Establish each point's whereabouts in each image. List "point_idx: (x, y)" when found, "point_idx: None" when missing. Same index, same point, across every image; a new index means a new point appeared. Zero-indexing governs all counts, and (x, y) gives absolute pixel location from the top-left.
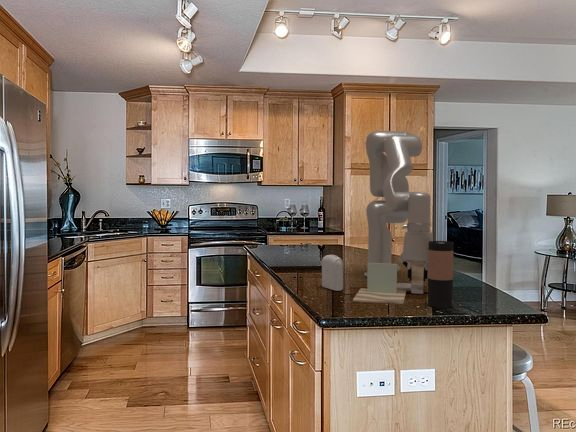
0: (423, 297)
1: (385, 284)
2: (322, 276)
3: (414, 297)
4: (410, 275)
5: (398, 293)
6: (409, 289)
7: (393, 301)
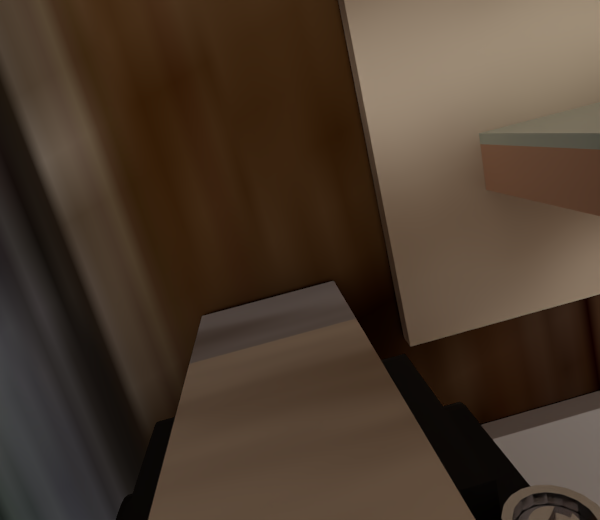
0: (146, 161)
1: None
2: None
3: (242, 104)
4: (421, 401)
5: (455, 135)
6: None
7: None
